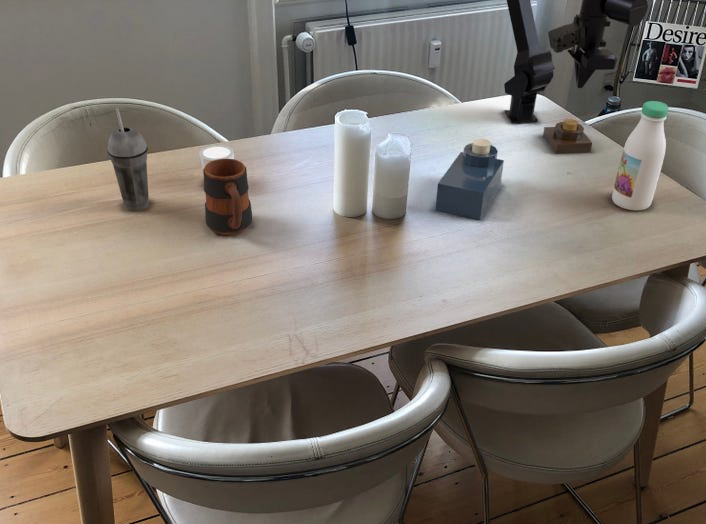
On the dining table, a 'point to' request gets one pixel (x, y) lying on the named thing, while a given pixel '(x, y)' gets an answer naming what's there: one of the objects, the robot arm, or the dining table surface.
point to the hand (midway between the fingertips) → (579, 87)
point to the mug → (227, 197)
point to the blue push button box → (470, 183)
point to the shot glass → (215, 154)
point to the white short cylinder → (481, 146)
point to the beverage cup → (130, 165)
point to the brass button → (570, 124)
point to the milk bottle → (642, 159)
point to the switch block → (567, 139)
